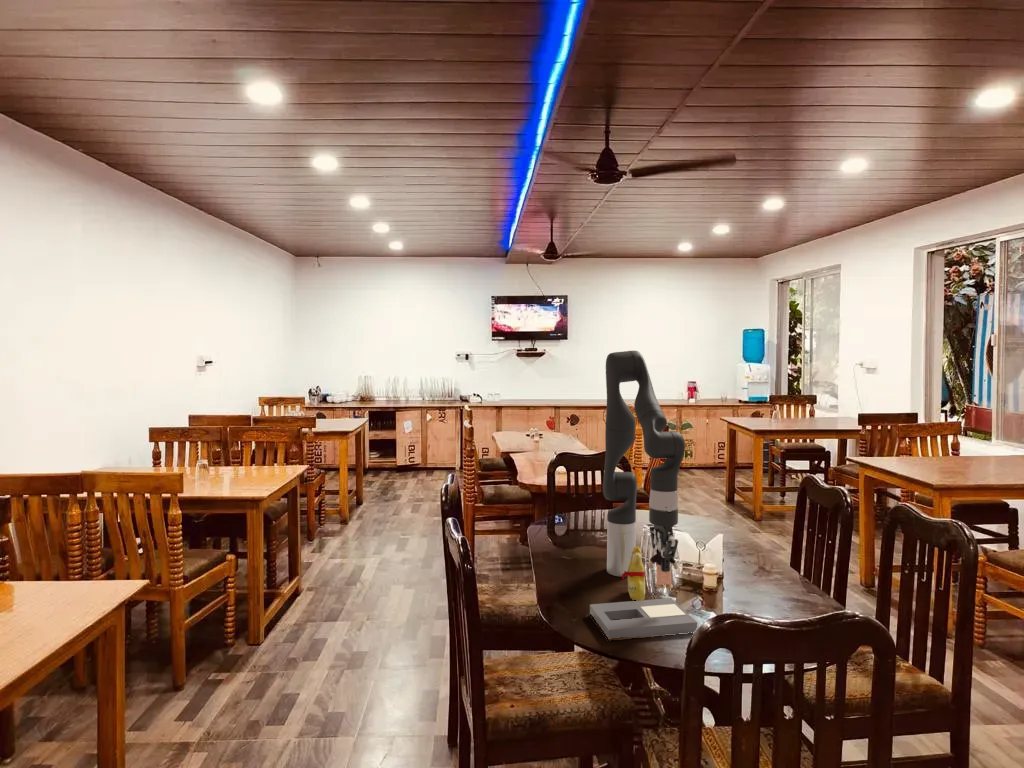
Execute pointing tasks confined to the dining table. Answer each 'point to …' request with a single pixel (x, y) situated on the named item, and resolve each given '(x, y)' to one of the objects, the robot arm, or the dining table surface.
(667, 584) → the grandmother figurine
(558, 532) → the dining table surface
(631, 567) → the chocolate bunny
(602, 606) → the pocket holder
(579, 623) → the dining table surface
